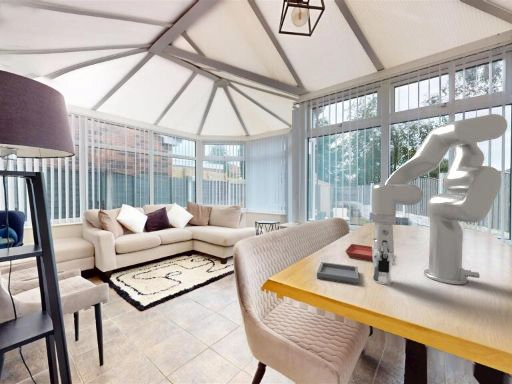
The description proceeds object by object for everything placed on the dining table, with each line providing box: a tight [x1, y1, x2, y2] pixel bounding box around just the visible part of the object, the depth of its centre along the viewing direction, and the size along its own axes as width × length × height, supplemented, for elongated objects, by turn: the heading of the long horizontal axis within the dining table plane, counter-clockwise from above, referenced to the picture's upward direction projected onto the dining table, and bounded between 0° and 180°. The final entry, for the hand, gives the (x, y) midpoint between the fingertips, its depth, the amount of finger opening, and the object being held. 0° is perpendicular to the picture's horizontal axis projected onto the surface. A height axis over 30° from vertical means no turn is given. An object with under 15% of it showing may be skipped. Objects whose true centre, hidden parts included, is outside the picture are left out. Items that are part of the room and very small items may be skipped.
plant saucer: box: [344, 243, 373, 262], centre depth 113 cm, size 18×18×3 cm
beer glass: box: [371, 237, 395, 286], centre depth 82 cm, size 7×7×15 cm
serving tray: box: [316, 261, 359, 286], centre depth 88 cm, size 14×13×2 cm
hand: (382, 268), depth 83 cm, fingers closed on beer glass, 6 cm apart
